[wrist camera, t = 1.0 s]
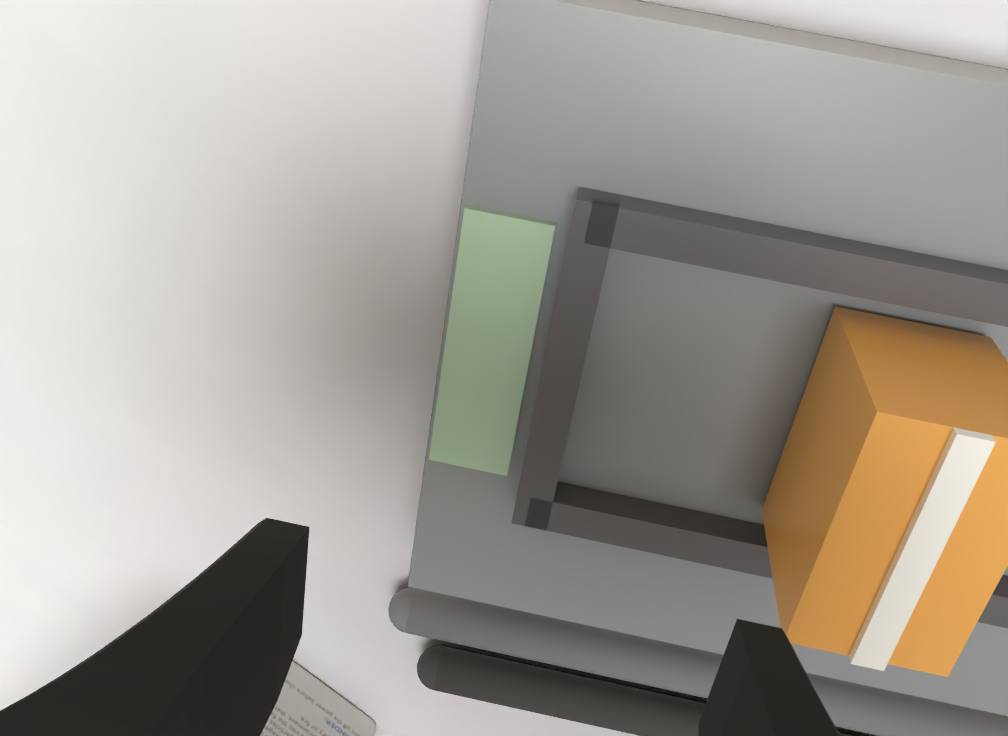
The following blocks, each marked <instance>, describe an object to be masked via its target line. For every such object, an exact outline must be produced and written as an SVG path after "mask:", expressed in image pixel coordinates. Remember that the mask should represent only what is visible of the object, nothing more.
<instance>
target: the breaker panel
mask: <svg viewBox="0 0 1008 736" xmlns="http://www.w3.org/2000/svg"><path fill="white" fill-rule="evenodd" d="M835 306H836V307H841V308H846V309H851V310H856V311H861V312H866V313H871V314H876V315H881V316H886V317H891V318H896V319H901V320H907V321H912V322H917V323H922V324H927V325H932V326H937V327H942V328H947V329H952V330H957V331H962V332H967V333H972V334H977V335H982V336H987V337H991V338H992V340H993V341H994V343H995V344H996V346H997V347H998V348H999V350H1000V351H1001V353H1002V354H1003V356H1004V357H1005V359H1006V360H1007V361H1008V69H1003V68H998V67H993V66H987V65H982V64H976V63H971V62H966V61H960V60H955V59H950V58H944V57H939V56H933V55H928V54H923V53H917V52H912V51H906V50H901V49H896V48H890V47H885V46H880V45H874V44H869V43H863V42H858V41H853V40H847V39H842V38H837V37H831V36H826V35H820V34H815V33H810V32H804V31H799V30H794V29H788V28H783V27H777V26H772V25H767V24H761V23H756V22H750V21H745V20H740V19H734V18H729V17H724V16H718V15H713V14H707V13H702V12H697V11H691V10H686V9H681V8H675V7H670V6H664V5H659V4H654V3H648V2H643V1H637V0H490V1H489V8H488V15H487V22H486V29H485V37H484V44H483V51H482V58H481V65H480V72H479V80H478V87H477V94H476V101H475V108H474V115H473V122H472V130H471V137H470V144H469V151H468V158H467V165H466V172H465V180H464V187H463V194H462V201H461V208H460V215H459V222H458V230H457V237H456V244H455V251H454V258H453V265H452V273H451V280H450V287H449V294H448V301H447V308H446V315H445V323H444V330H443V337H442V344H441V351H440V358H439V365H438V373H437V380H436V387H435V394H434V401H433V408H432V415H431V423H430V430H429V437H428V444H427V451H426V458H425V466H424V473H423V480H422V487H421V494H420V501H419V508H418V516H417V523H416V530H415V537H414V544H413V551H412V558H411V566H410V573H409V580H408V587H413V588H417V589H422V590H427V591H431V592H436V593H440V594H445V595H450V596H454V597H459V598H464V599H468V600H473V601H477V602H482V603H487V604H491V605H496V606H501V607H505V608H510V609H514V610H519V611H524V612H528V613H533V614H538V615H542V616H547V617H552V618H556V619H561V620H565V621H570V622H575V623H579V624H584V625H589V626H593V627H598V628H602V629H607V630H612V631H616V632H621V633H626V634H630V635H635V636H639V637H644V638H649V639H653V640H658V641H663V642H667V643H672V644H676V645H681V646H686V647H690V648H695V649H700V650H704V651H709V652H714V653H718V654H723V655H724V653H725V650H726V647H727V644H728V642H729V639H730V636H731V634H732V631H733V628H734V626H735V623H736V620H737V619H741V620H745V621H750V622H755V623H759V624H764V625H769V626H773V627H778V628H781V626H780V620H779V614H778V607H777V601H776V595H775V589H774V583H773V577H772V571H771V565H770V558H769V552H768V546H767V540H766V534H765V528H764V522H763V515H762V508H763V505H764V503H765V500H766V497H767V494H768V491H769V489H770V486H771V483H772V480H773V478H774V475H775V472H776V469H777V466H778V464H779V461H780V458H781V455H782V453H783V450H784V447H785V444H786V441H787V439H788V436H789V433H790V430H791V428H792V425H793V422H794V419H795V416H796V414H797V411H798V408H799V405H800V403H801V400H802V397H803V394H804V391H805V389H806V386H807V383H808V380H809V378H810V375H811V372H812V369H813V367H814V364H815V361H816V358H817V355H818V353H819V350H820V347H821V344H822V342H823V339H824V336H825V333H826V330H827V328H828V325H829V322H830V319H831V317H832V314H833V311H834V308H835ZM791 645H792V647H793V649H794V651H795V653H796V654H797V656H798V658H799V660H800V662H801V664H802V666H803V668H804V670H805V672H806V673H811V674H815V675H820V676H825V677H829V678H834V679H838V680H843V681H848V682H852V683H857V684H862V685H866V686H871V687H876V688H880V689H885V690H889V691H894V692H899V693H903V694H908V695H913V696H917V697H922V698H926V699H931V700H936V701H940V702H945V703H950V704H954V705H959V706H963V707H968V708H973V709H977V710H982V711H987V712H991V713H996V714H1000V715H1005V716H1008V566H1007V568H1006V570H1005V571H1004V573H1003V575H1002V577H1001V579H1000V581H999V583H998V584H997V586H996V588H995V590H994V592H993V594H992V596H991V597H990V599H989V601H988V603H987V605H986V607H985V609H984V611H983V612H982V614H981V616H980V618H979V620H978V622H977V624H976V625H975V627H974V629H973V631H972V633H971V635H970V637H969V638H968V640H967V642H966V644H965V646H964V648H963V650H962V651H961V653H960V655H959V657H958V659H957V661H956V663H955V665H954V666H953V668H952V670H951V672H950V674H949V676H948V677H945V676H940V675H935V674H931V673H926V672H922V671H917V670H912V669H908V668H903V667H898V666H894V665H889V664H887V666H886V668H885V670H884V671H881V670H876V669H872V668H867V667H862V666H858V665H853V664H850V659H849V656H847V655H842V654H838V653H833V652H828V651H824V650H819V649H814V648H810V647H805V646H800V645H796V644H791Z"/></svg>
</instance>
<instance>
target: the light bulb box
mask: <svg viewBox="0 0 1008 736" xmlns="http://www.w3.org/2000/svg"><path fill="white" fill-rule="evenodd" d="M375 729H376V724H375V722H374V721H373V720H372V719H371V718H369V717H368V716H367V715H365V714H364V713H363V712H361V711H360V710H359V709H357V708H356V707H355V706H353V705H352V704H350V703H349V702H348V701H346V700H345V699H344V698H342V697H341V696H340V695H338V694H337V693H336V692H334V691H333V690H332V689H330V688H329V687H327V686H326V685H325V684H323V683H322V682H321V681H320V680H318V679H317V678H315V677H314V676H313V675H311V674H310V673H308V672H307V671H306V670H304V669H303V668H302V667H300V666H299V665H297V664H296V663H295V662H293V661H292V663H291V666H290V669H289V671H288V674H287V677H286V679H285V682H284V685H283V687H282V690H281V693H280V695H279V698H278V701H277V703H276V705H275V707H274V709H273V711H272V713H271V715H270V717H269V719H268V721H267V723H266V725H265V727H264V729H263V731H262V733H261V735H260V736H374V733H375Z"/></svg>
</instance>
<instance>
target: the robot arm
mask: <svg viewBox="0 0 1008 736" xmlns="http://www.w3.org/2000/svg"><path fill="white" fill-rule="evenodd" d="M308 538H309V527H307V526H302V525H297V524H293V523H288V522H283V521H279V520H274V519H269V518H266V519H264V520H263V521H261V522H259V523H258V524H257V525H256V526H255V527H253V528H252V529H251V530H250V531H249V532H248V533H247V534H246V535H245V536H243V537H242V538H241V539H240V540H239V541H238V542H237V543H236V544H234V545H233V546H232V547H231V548H230V549H229V550H228V551H227V552H225V553H224V554H223V555H222V556H221V557H220V558H218V559H217V560H216V561H215V562H214V563H213V564H211V565H210V566H209V567H208V568H207V569H206V570H204V571H203V572H202V573H201V574H200V575H198V576H197V577H196V578H195V579H194V580H192V581H191V582H190V583H189V584H187V585H186V586H185V587H184V588H182V589H181V590H180V591H179V592H177V593H176V594H175V595H174V596H172V597H171V598H170V599H169V600H167V601H166V602H165V603H164V604H162V605H161V606H160V607H159V608H157V609H156V610H155V611H153V612H152V613H151V614H149V615H148V616H147V617H145V618H144V619H143V620H141V621H140V622H138V623H137V624H136V625H134V626H133V627H132V628H130V629H129V630H127V631H126V632H125V633H123V634H122V635H120V636H119V637H118V638H116V639H115V640H113V641H112V642H111V643H109V644H108V645H106V646H105V647H104V648H102V649H101V650H99V651H98V652H96V653H95V654H93V655H92V656H90V657H89V658H87V659H86V660H84V661H83V662H81V663H80V664H78V665H77V666H75V667H74V668H72V669H71V670H69V671H67V672H66V673H64V674H63V675H61V676H60V677H58V678H56V679H55V680H53V681H51V682H50V683H48V684H46V685H45V686H43V687H41V688H40V689H38V690H37V691H35V692H33V693H31V694H30V695H28V696H26V697H25V698H23V699H21V700H19V701H17V702H16V703H14V704H12V705H10V706H8V707H6V708H5V709H3V710H1V711H0V736H260V735H261V733H262V731H263V729H264V727H265V725H266V723H267V721H268V719H269V717H270V715H271V713H272V711H273V709H274V707H275V705H276V703H277V701H278V698H279V695H280V693H281V690H282V687H283V685H284V682H285V679H286V677H287V674H288V671H289V669H290V666H291V663H292V660H293V658H294V655H295V652H296V649H297V646H298V644H299V641H300V638H301V635H302V622H303V608H304V594H305V580H306V566H307V552H308ZM698 736H841V735H840V734H839V732H838V730H837V728H836V727H835V725H834V723H833V721H832V720H831V718H830V716H829V714H828V712H827V711H826V709H825V707H824V705H823V703H822V701H821V700H820V698H819V696H818V694H817V692H816V690H815V689H814V687H813V685H812V683H811V681H810V679H809V677H808V675H807V674H806V672H805V670H804V668H803V666H802V664H801V662H800V660H799V658H798V656H797V654H796V653H795V651H794V649H793V647H792V645H791V643H790V641H789V639H788V637H787V636H786V634H785V632H784V631H783V629H782V628H778V627H773V626H769V625H764V624H759V623H755V622H750V621H745V620H741V619H737V620H736V623H735V626H734V628H733V631H732V634H731V636H730V639H729V642H728V644H727V647H726V650H725V653H724V655H723V658H722V661H721V663H720V666H719V669H718V671H717V674H716V677H715V680H714V682H713V685H712V688H711V690H710V693H709V696H708V698H707V701H706V704H705V707H704V709H703V712H702V715H701V717H700V720H699V729H698Z"/></svg>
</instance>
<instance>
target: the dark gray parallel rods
mask: <svg viewBox="0 0 1008 736" xmlns="http://www.w3.org/2000/svg"><path fill="white" fill-rule="evenodd" d="M389 617H390V620H391V622H392V623H393V625H394V626H395V627H396V628H397V629H399V630H400V631H402V632H405V633H410V634H414V635H419V636H423V637H428V638H432V639H437V640H442V641H446V642H451V643H455V644H460V645H465V646H469V647H474V648H478V649H483V650H487V651H492V652H497V653H501V654H506V655H510V656H515V657H520V658H524V659H529V660H533V661H538V662H542V663H547V664H552V665H556V666H561V667H565V668H570V669H574V670H579V671H584V672H588V673H593V674H597V675H602V676H607V677H611V678H616V679H620V680H625V681H629V682H634V683H639V684H643V685H648V686H652V687H657V688H662V689H666V690H671V691H675V692H680V693H684V694H689V695H694V696H698V697H703V698H708V696H709V693H710V690H711V688H712V685H713V682H714V680H715V677H716V674H717V671H718V669H719V666H720V663H721V661H722V658H723V654H718V653H714V652H709V651H704V650H700V649H695V648H690V647H686V646H681V645H676V644H672V643H667V642H663V641H658V640H653V639H649V638H644V637H639V636H635V635H630V634H626V633H621V632H616V631H612V630H607V629H602V628H598V627H593V626H589V625H584V624H579V623H575V622H570V621H565V620H561V619H556V618H552V617H547V616H542V615H538V614H533V613H528V612H524V611H519V610H514V609H510V608H505V607H501V606H496V605H491V604H487V603H482V602H477V601H473V600H468V599H464V598H459V597H454V596H450V595H445V594H440V593H436V592H431V591H427V590H422V589H417V588H413V587H410V588H405V589H402V590H400V591H399V592H397V593H396V594H395V595H394V597H393V598H392V600H391V602H390V605H389ZM417 673H418V676H419V679H420V680H421V682H422V683H423V684H424V685H425V686H426V687H428V688H429V689H432V690H436V691H440V692H445V693H449V694H454V695H458V696H463V697H467V698H472V699H476V700H481V701H485V702H490V703H494V704H499V705H504V706H508V707H513V708H517V709H522V710H526V711H531V712H535V713H540V714H544V715H549V716H553V717H558V718H562V719H567V720H571V721H576V722H581V723H585V724H590V725H594V726H599V727H603V728H608V729H612V730H617V731H621V732H626V733H630V734H635V735H639V736H698V729H699V720H700V717H701V715H702V712H703V709H704V707H705V704H706V703H702V702H697V701H693V700H688V699H684V698H679V697H674V696H670V695H665V694H661V693H656V692H652V691H647V690H642V689H638V688H633V687H629V686H624V685H620V684H615V683H610V682H606V681H601V680H597V679H592V678H587V677H583V676H578V675H574V674H569V673H565V672H560V671H555V670H551V669H546V668H542V667H537V666H533V665H528V664H523V663H519V662H514V661H510V660H505V659H501V658H496V657H491V656H487V655H482V654H478V653H473V652H469V651H464V650H459V649H455V648H450V647H446V646H433V647H430V648H429V649H427V650H426V651H425V652H424V653H423V654H422V655H421V656H420V658H419V661H418V665H417ZM806 674H807V675H808V677H809V679H810V681H811V683H812V685H813V687H814V689H815V690H816V692H817V694H818V696H819V698H820V700H821V701H822V703H823V705H824V707H825V709H826V711H827V712H828V714H829V716H830V718H831V720H832V721H833V723H834V725H835V726H836V727H840V728H845V729H849V730H854V731H859V732H863V733H868V734H872V735H877V736H1008V716H1005V715H1000V714H996V713H991V712H987V711H982V710H977V709H973V708H968V707H963V706H959V705H954V704H950V703H945V702H940V701H936V700H931V699H926V698H922V697H917V696H913V695H908V694H903V693H899V692H894V691H889V690H885V689H880V688H876V687H871V686H866V685H862V684H857V683H852V682H848V681H843V680H838V679H834V678H829V677H825V676H820V675H815V674H811V673H806ZM839 734H840V735H841V736H853V735H848V734H844V733H839Z"/></svg>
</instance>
